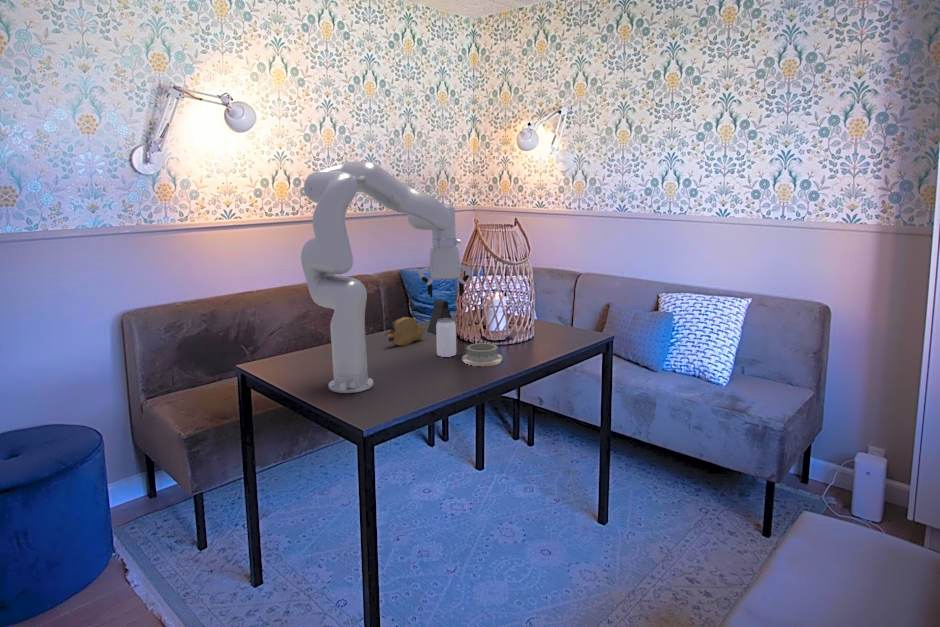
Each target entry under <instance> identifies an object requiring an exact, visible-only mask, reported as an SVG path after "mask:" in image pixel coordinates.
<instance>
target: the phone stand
mask: <svg viewBox="0 0 940 627" xmlns="http://www.w3.org/2000/svg"><path fill="white" fill-rule="evenodd" d="M449 309H450V308H449V302H448V301H445V300H442V299H435V300H433V309H432V312H431V313H432V314H431V316H430V320H429V323H428V324H429V325H428V328H427V332H428V331H430V332H429V333H431V332H433V333H432V334H434V333H436V324H437V322H438V321H437V320H438V319H442V318H451V319H453V317H452V316H451V313H450V310H449Z"/></svg>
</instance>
